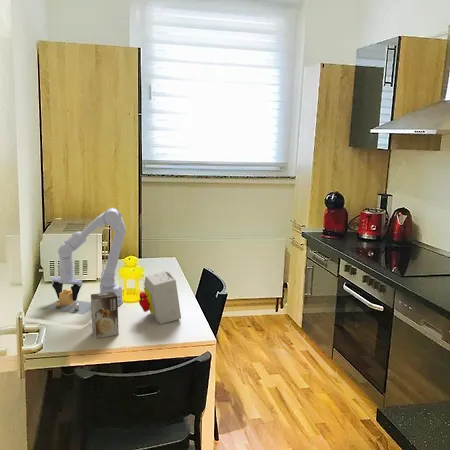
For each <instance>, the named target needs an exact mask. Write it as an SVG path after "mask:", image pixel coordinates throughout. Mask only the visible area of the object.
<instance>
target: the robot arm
mask: <svg viewBox="0 0 450 450" xmlns="http://www.w3.org/2000/svg"><path fill="white" fill-rule="evenodd" d="M122 216H123V215H122V214H121V213H120V212H119V210H118V209H117V208H115V207H109V208H107V209H106V210H105V211H103V212H102V213H101V214H99V215H98V216H96V217H95V219H94V220H92V221H91V222H90V223H88V225H87V226H86V227H84V228H83V230H82V231H76V232H73V233H72V234H71V236H70V237H69V238H68V239H67V240H66V239H65V241H63V243H62V244H61V245H60V246H59V249H58V250H57V253H58V255H59V256H58V257H59V261H58V262H59V266H58V267H59V277H52V278H50V280H51V287H52V288H53V289H54V291H55V294H56V296H57V299H58V300H59V293H61V292H63V286H64V285H72V286H70V289H71V291H72V295H73V301H75V300H77V301H78V295H79V292H80V290H81V287H82V286H83V280H80V279H76V278H74V262H73V261H74V260H73V252H75V251H77V250H78V249H79V248H80V247H81V246H82V245H83V244H84V243H86V242H87V237H88V236H89V235H91V234H92V233H93V232H94V231H96V230H97V229H98V228H99V227H103V226H106V225H108V226H109V227H111V228H112V230H113V231H114V234H113V239H112V242H111V245H110V250H109V252H108V256H107V261H106V264H105V268H104V269H103V270H102V272H101V274H100V279H99V280H100V281H99V283H100V284H99V293H106V292H114V293H115V294H116V295H117V301H118V307H119V306H120V305H122V304H123V303H124V301H123V289H122V286H118V285H117V283H116V280H115V278H116V268H117V265H118V262H119V257H120V254H121V250H122V246H123V243H124V240H125V234H126V233H127V232H126V231H127V228H126V225H125V222H124V219H123V217H122Z"/></svg>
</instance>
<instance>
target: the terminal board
mask: <svg viewBox="0 0 450 450" xmlns="http://www.w3.org/2000/svg"><path fill="white" fill-rule="evenodd" d="M57 301H59V299H58V300H57ZM75 303H79V311H74V304H75ZM42 310H49V311H56V312H62V313H71V314H77V315H85V314H86V313H88V312H90V311H91V301H84V300H78V299H77V300H76V302H74V303H73V304H71V305H63V304H61V308H60V309H56V301H54V302H52V303H51V304H49V305H47V306H45V307H43V308H42Z"/></svg>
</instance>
